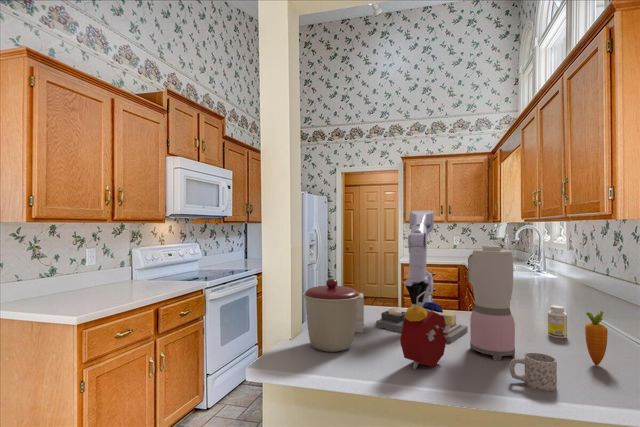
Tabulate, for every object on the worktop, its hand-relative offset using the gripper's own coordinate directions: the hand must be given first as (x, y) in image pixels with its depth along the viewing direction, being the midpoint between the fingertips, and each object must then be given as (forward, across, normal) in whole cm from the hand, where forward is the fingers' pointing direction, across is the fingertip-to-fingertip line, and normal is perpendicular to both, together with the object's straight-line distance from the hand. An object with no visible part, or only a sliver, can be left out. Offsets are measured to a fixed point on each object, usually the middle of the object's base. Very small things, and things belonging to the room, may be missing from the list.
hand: (417, 303), depth 133 cm
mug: (+10, -23, -41) cm, 48 cm away
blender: (+10, -6, -26) cm, 28 cm away
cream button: (+6, 0, +9) cm, 11 cm away
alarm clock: (+10, -29, -17) cm, 35 cm away
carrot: (+10, +2, -52) cm, 53 cm away
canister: (+10, -35, +12) cm, 38 cm away
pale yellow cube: (+7, +4, -10) cm, 13 cm away
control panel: (+9, +1, -1) cm, 10 cm away
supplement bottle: (+10, +25, -40) cm, 48 cm away
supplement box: (+10, -16, +17) cm, 25 cm away
